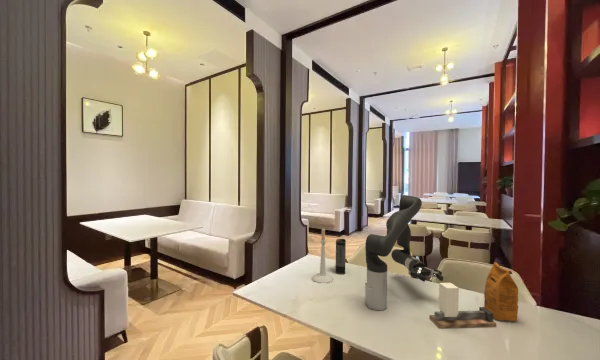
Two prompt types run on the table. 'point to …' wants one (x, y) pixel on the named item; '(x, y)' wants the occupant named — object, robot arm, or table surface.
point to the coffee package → (501, 294)
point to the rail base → (464, 319)
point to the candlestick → (322, 265)
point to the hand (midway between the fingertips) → (433, 279)
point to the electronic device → (340, 256)
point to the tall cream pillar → (448, 299)
